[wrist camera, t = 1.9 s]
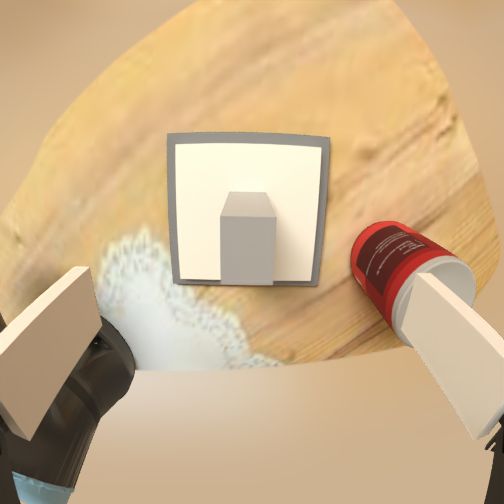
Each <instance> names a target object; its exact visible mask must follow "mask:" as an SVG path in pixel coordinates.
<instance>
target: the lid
mask: <svg viewBox="0 0 504 504" xmlns="http://www.w3.org/2000/svg"><path fill="white" fill-rule="evenodd" d="M175 165H176V211H177V234H178V252H179V267H180V279H207V280H221V284H226V285H273V281H311V274H312V265H313V255H314V245H315V235H316V223H317V211H318V198H319V183H320V167H321V147H308V146H294V145H276V144H245V143H203V144H175Z"/></svg>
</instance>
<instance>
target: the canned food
mask: <svg viewBox="0 0 504 504" xmlns="http://www.w3.org/2000/svg"><path fill="white" fill-rule="evenodd" d="M351 268H352V272H353V275H354V277H355V279H356V280H357V282H358V283H359V284H360V286H361V287H362V288H363V290H364V291H365V292H366V294H367V295H368V296H369V298H370V299H371V301H372V302H373V303H374V305H375V306H376V308H377V309H378V310H379V312H380V313H381V315H382V316H383V317H384V319H385V320H386V322H387V323H388V324H389V326H390V327H391V329H392V330H393V331H394V332H395V334H396V335H397V337H398V338H399V339H400V340H401V341H402V342H403V343H404V344H406V345H407V346H409V347H412V348H414V347H413V346H412V344H411V343H410V342H409V340H408V339H407V337H406V336H405V335H404V333H403V332H402V330H401V327H402V324H403V321H404V317H405V314H406V311H407V307H408V304H409V300H410V296H411V293H412V289H413V285H414V281H415V277H416V273H431V274H432V275H433V276H435V277H436V278H437V279H438V280H439V281H441V282H442V283H443V284H444V285H445V286H447V287H448V288H449V289H450V290H451V291H452V292H454V293H455V294H456V295H457V296H458V297H459V298H460V299H461V300H463V301H464V302H465V303H466V304H467V305H468V306H469V307H470V308H472V305H473V303H474V299H475V294H476V283H475V277H474V275H473V272H472V270H471V269H470V267H469V266H468V265H466V264H465V262H463V261H462V260H461V259H459V258H458V257H456V256H455V255H453V254H452V253H451V252H449V251H448V250H446V249H444V248H443V247H441V246H439V245H438V244H436V243H434V242H433V241H431V240H429V239H428V238H426V237H424V236H423V235H421V234H419V233H418V232H416V231H414V230H412V229H411V228H409V227H407V226H405V225H404V224H401V223H399V222H395V221H383V222H378V223H374V224H372V225H371V226H369V227H367V228H366V229H365V230H363V231H362V232H361V234H360V235H359V236H358V237H357V239H356V241H355V242H354V245H353V248H352V251H351Z"/></svg>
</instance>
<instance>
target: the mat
mask: <svg viewBox="0 0 504 504" xmlns="http://www.w3.org/2000/svg"><path fill="white" fill-rule="evenodd" d="M203 143H245V144H276V145H294V146H308V147H321V167H320V183H319V198H318V211H317V223H316V235H315V245H314V255H313V265H312V274H311V281H273V285H263V286H318V278H319V270H320V261H321V252H322V243H323V233H324V223H325V211H326V199H327V186H328V170H329V152H330V137H321V136H310V135H297V134H281V133H258V132H194V133H171V134H167V187H168V215H169V234H170V250H171V263H172V275H173V283H177V284H209V285H226V284H221V280H207V279H180V267H179V252H178V234H177V211H176V165H175V144H203Z"/></svg>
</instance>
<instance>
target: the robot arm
mask: <svg viewBox="0 0 504 504" xmlns="http://www.w3.org/2000/svg"><path fill="white" fill-rule="evenodd" d="M401 330H402V332H403V333H404V335H405V336H406V337H407V339H408V340H409V342H410V343H411V344H412V346H413V347H414V349H415V350H416V352H417V353H418V354H419V356H420V357H421V359H422V360H423V362H424V363H425V364H426V366H427V368H428V369H429V371H430V372H431V373H432V375H433V376H434V378H435V380H436V381H437V383H438V384H439V386H440V387H441V389H442V390H443V392H444V393H445V395H446V397H447V398H448V400H449V401H450V403H451V404H452V406H453V407H454V409H455V411H456V412H457V414H458V416H459V417H460V419H461V421H462V422H463V424H464V426H465V427H466V429H467V431H468V433H469V434H470V436H471V438H472V439H473V441H475V440H477V439H479V438H481V437H483V436H485V435H487V434H489V433H490V431H491V430H492V429H493V428H494V426H495V425H496V424H497V422H498V421H499V423H500V424H501V426H502V427H501V428H500V429H499V430H498V432H497V433H496V434H495V435H494V437H493V438H492V439H491V440H490V441H489V442H488V444H487V445H486V447H485V450H488V449H489V447H490V446H491V445H492V444H493V443H494V442H496V444H495V445H494V447H493V448H492V449H491V451H493V452H494V458H493V465H492V470H491V476H490V481H489V485H488V490H487V494H486V498H485V502H484V504H504V338H502V337H501V336H500V335H499V334H498V333H497V332H496V331H495V330H494V329H493V328H492V327H491V326H490V325H489V324H488V323H487V322H486V321H484V320H483V319H482V318H481V317H480V316H479V315H478V314H477V313H476V312H475V311H474V310H473V309H472V308H470V307H469V306H468V305H467V304H466V303H465V302H464V301H463V300H461V299H460V298H459V297H458V296H457V295H456V294H455V293H454V292H452V291H451V290H450V289H449V288H448V287H447V286H445V285H444V284H443V283H442V282H441V281H439V280H438V279H437V278H436V277H435V276H433V275H432V274H431V273H416V277H415V281H414V285H413V289H412V293H411V296H410V300H409V304H408V307H407V311H406V314H405V317H404V321H403V324H402V327H401ZM134 374H135V364H134V359H133V356H132V353H131V351H130V349H129V347H128V345H127V344H126V342H125V341H124V339H123V338H122V336H121V335H120V334H119V333H118V332H117V330H116V329H115V328H114V327H113V326H112V325H111V324H110V323H108V322H107V321H106V320H105V319H104V318H102V317H101V316H100V314H99V309H98V305H97V301H96V296H95V292H94V287H93V282H92V277H91V272H90V267H78V266H75V267H73V268H72V269H71V270H70V271H68V272H67V273H66V274H65V275H64V276H62V277H61V278H60V279H59V280H58V281H57V282H55V283H54V284H53V285H52V286H51V287H50V288H48V289H47V290H46V291H45V292H44V293H43V294H42V295H40V296H39V297H38V298H37V299H36V300H35V301H34V302H33V303H32V304H30V305H29V306H28V307H27V308H26V309H25V310H24V311H23V312H22V313H21V314H20V315H19V316H18V317H17V318H15V319H14V320H13V321H12V322H11V323H10V324H9V325H8V326H7V325H6V323H5V321H4V319H3V317H2V315H1V313H0V504H21V503H20V501H22V502H24V503H26V504H67V502H68V499H69V497H70V495H71V493H73V492H74V489H75V485H76V482H77V479H78V476H79V473H80V470H81V468H82V465H83V462H84V459H85V457H86V454H87V451H88V449H89V446H90V443H91V441H92V438H93V436H94V433H95V430H96V428H97V425H98V423H99V421H100V418H101V417H102V416H103V415H104V414H105V413H106V412H107V411H108V410H109V409H110V408H111V407H112V406H113V405H114V404H115V403H116V402H117V401H118V400H119V399H121V398H122V397H123V396H124V395H125V394H126V393H127V391H128V390H129V387H130V385H131V382H132V380H133V377H134Z"/></svg>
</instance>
